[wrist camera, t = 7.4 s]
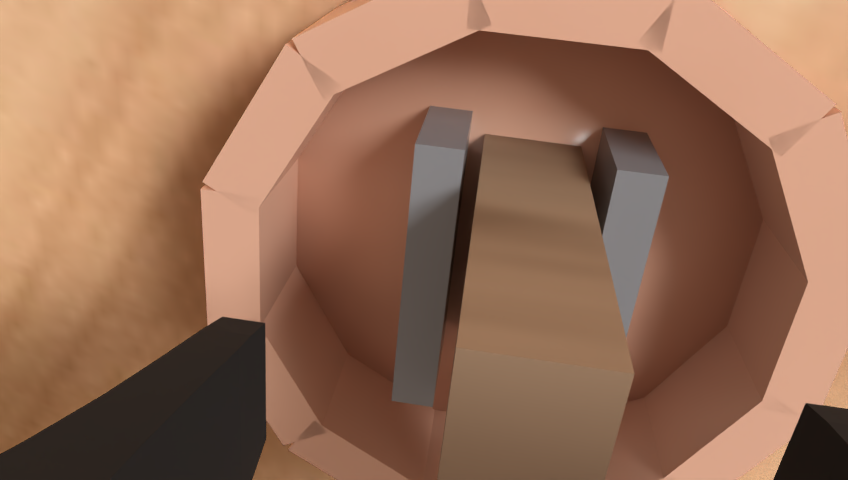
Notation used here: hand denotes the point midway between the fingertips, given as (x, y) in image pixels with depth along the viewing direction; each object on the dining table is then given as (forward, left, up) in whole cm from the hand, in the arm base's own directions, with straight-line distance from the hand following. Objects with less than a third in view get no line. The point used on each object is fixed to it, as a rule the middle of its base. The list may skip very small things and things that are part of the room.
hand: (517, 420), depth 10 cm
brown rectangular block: (0, 0, -5) cm, 5 cm away
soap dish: (0, 0, -6) cm, 6 cm away
